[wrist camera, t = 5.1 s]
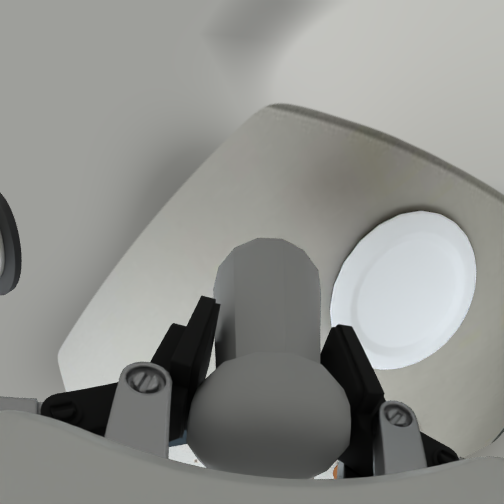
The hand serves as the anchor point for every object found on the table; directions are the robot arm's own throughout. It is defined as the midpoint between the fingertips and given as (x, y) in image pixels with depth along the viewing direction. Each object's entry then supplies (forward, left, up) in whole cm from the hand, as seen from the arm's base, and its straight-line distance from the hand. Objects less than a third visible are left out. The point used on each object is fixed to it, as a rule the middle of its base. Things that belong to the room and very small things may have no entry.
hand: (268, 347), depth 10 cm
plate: (+15, +11, -20) cm, 27 cm away
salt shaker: (0, 0, -8) cm, 8 cm away
